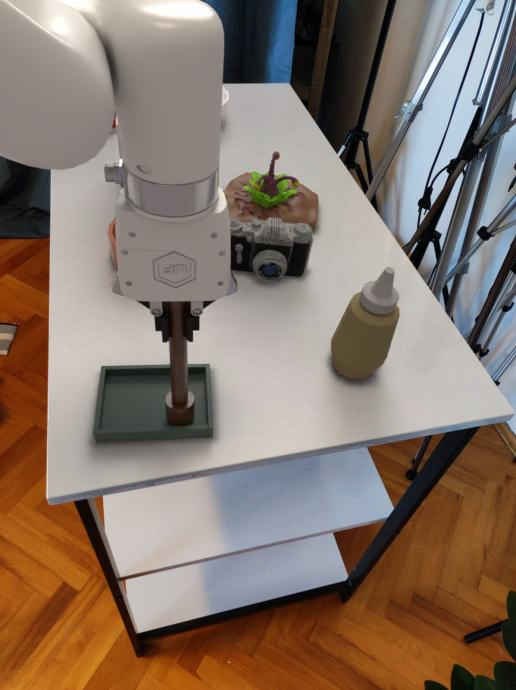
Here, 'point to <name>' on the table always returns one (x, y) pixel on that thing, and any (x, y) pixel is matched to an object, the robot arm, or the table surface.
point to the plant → (271, 198)
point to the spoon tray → (148, 404)
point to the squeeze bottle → (366, 328)
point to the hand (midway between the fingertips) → (177, 331)
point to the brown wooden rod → (178, 368)
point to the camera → (270, 248)
